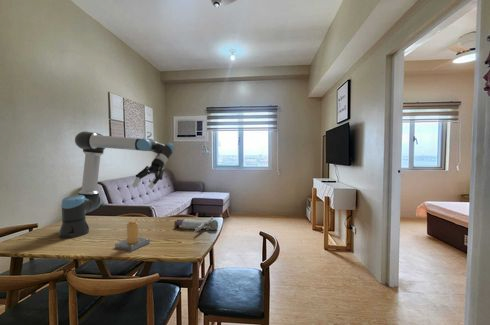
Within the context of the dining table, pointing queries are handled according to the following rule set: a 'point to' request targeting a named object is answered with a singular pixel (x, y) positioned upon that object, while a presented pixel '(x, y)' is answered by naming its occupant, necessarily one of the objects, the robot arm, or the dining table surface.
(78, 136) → the robot arm
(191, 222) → the toy
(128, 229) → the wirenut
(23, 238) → the dining table surface
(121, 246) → the grey base with peg
